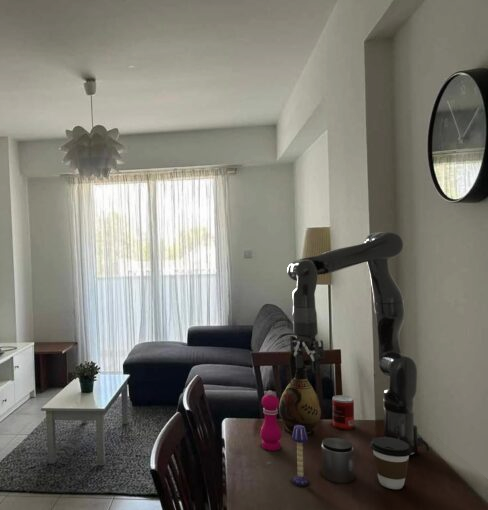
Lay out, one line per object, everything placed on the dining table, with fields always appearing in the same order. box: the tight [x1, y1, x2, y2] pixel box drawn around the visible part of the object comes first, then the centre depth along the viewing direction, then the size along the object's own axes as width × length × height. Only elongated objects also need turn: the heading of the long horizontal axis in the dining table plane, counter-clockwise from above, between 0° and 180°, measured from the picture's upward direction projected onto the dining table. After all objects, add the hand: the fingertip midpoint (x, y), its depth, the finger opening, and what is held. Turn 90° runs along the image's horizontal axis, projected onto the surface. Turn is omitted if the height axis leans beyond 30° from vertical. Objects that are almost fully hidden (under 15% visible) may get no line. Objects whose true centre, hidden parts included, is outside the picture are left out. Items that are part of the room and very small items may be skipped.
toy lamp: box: [291, 425, 309, 487], centre depth 138 cm, size 5×5×17 cm
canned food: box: [332, 394, 355, 430], centre depth 182 cm, size 8×8×11 cm
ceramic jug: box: [278, 353, 322, 435], centre depth 179 cm, size 17×15×30 cm
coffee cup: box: [369, 436, 412, 490], centre depth 136 cm, size 11×11×12 cm
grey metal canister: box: [321, 437, 355, 484], centre depth 142 cm, size 9×9×10 cm
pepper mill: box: [259, 389, 282, 451], centre depth 164 cm, size 7×7×20 cm
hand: (307, 370), depth 152 cm, fingers open, 8 cm apart
